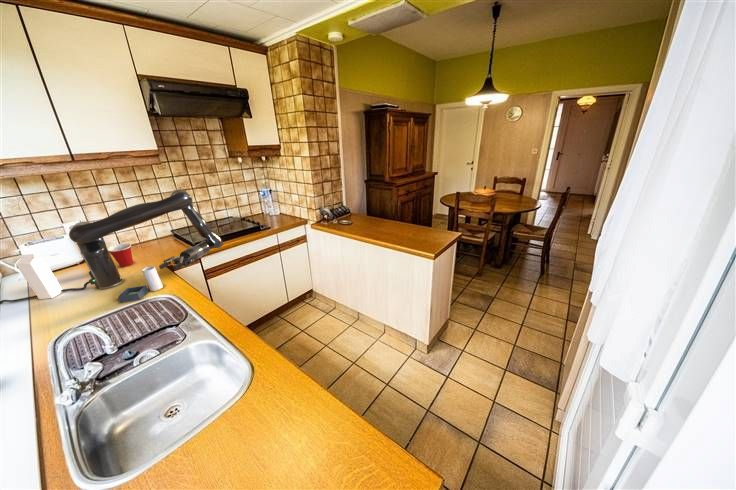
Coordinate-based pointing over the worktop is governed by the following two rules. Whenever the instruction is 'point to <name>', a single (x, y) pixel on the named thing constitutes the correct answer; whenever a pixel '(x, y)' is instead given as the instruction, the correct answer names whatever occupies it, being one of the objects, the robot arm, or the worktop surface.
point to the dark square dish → (133, 293)
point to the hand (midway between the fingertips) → (166, 267)
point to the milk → (39, 276)
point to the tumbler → (152, 278)
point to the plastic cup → (122, 254)
